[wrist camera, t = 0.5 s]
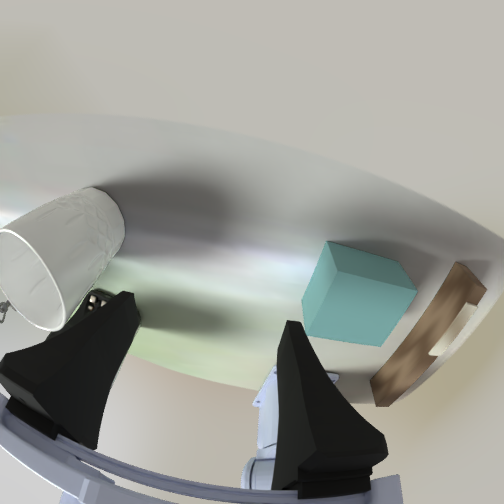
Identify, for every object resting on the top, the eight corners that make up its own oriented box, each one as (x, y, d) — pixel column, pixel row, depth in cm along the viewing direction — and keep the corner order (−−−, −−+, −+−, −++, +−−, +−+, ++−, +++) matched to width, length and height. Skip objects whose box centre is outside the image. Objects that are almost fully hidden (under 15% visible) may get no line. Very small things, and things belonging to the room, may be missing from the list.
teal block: (368, 312, 24) (380, 346, 20) (301, 298, 24) (305, 335, 20) (397, 260, 21) (417, 291, 17) (326, 239, 21) (337, 270, 17)
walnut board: (381, 381, 29) (389, 408, 25) (369, 381, 29) (376, 408, 25) (466, 266, 21) (488, 291, 17) (455, 261, 21) (478, 287, 17)
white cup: (60, 178, 20) (-21, 222, 11) (130, 183, 20) (47, 238, 11) (70, 253, 23) (9, 313, 14) (134, 267, 23) (79, 345, 15)
